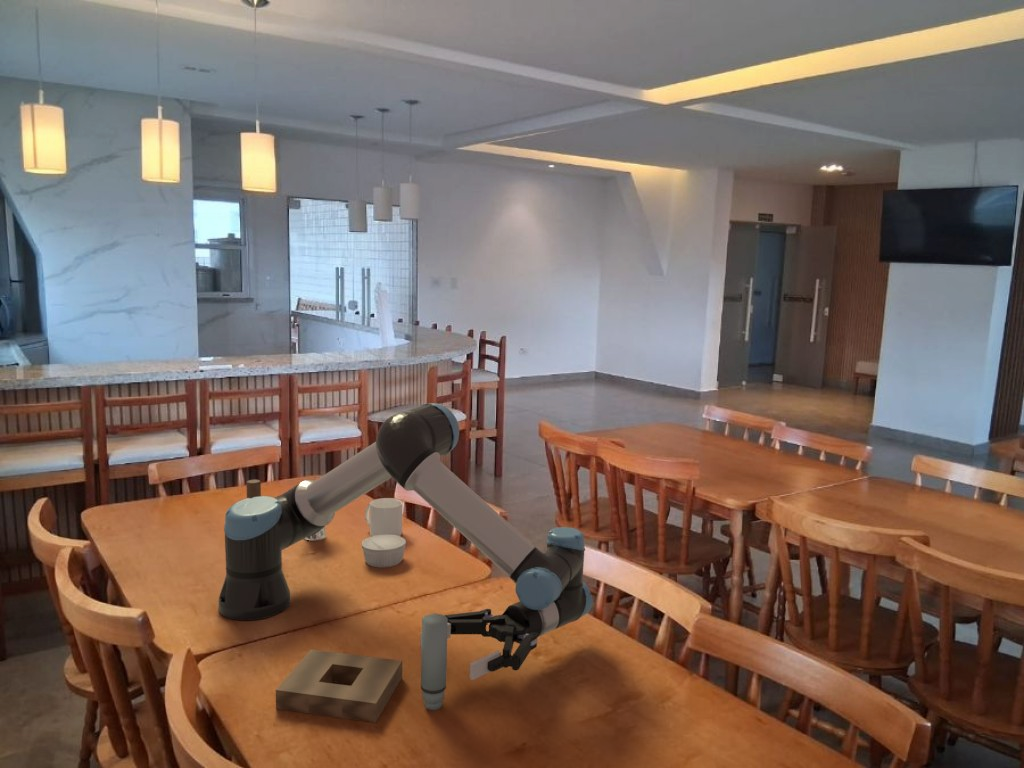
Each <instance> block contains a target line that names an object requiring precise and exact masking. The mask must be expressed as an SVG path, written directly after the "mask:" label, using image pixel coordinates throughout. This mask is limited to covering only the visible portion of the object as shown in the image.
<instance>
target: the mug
mask: <svg viewBox="0 0 1024 768" xmlns="http://www.w3.org/2000/svg"><path fill="white" fill-rule="evenodd" d="M364 515H365V517H364V520H365V522H366V523H367V526H368V527H369V535H370V537H371V536H376V535H397V536H400V535H401V534H403V501H402V500H401V499H398V498H392V497H383V498H382V497H380V498H376V499H373V500H371V501H370V502H369V504H367V506H366V509H365V513H364ZM401 536H402V535H401ZM401 536H400V537H401Z"/></svg>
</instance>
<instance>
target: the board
mask: <svg viewBox="0 0 1024 768" xmlns="http://www.w3.org/2000/svg"><path fill="white" fill-rule="evenodd" d="M402 679H403V660H399V659H392V658H383V657H376V656H367V655H359V654H358V655H357V654H351V653H345V652H344V653H342V652H335V651H326V650H320V649H310V650H309V651H308V652H307V653H306V655H305V656H304V657H303V658H302V659H301V660H300V662H299V663H298V664H297V665H296V666H295V667H294V668H293V670H291V672H290V673H289V674H288V675H287V676H286V677H285V679H284V680H283V681H282V682H281V683H280V684H279V686H278V687H277V688H275V709H276V710H283V711H291V712H297V713H306V714H312V715H318V716H326V717H333V718H338V719H339V718H340V719H341V718H342V719H347V720H353V721H360V722H361V721H362V722H368V723H369V722H370V723H375V724H376V723H377V721H378V720H379V718H380V716H381V715H382V713H383V712H384V709H385V708H386V706H387V704H388V703H389V701H390V699H391V698H392V696H393V694H394V693H395V690H396V689H397V687H398V686H399V684H400V683H401V681H402ZM399 682H400V683H399ZM338 683H339V684H338ZM346 684H348V685H346Z"/></svg>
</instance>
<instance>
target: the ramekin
mask: <svg viewBox="0 0 1024 768" xmlns="http://www.w3.org/2000/svg"><path fill="white" fill-rule="evenodd" d="M406 546H407V541H406V539H405V538H404V537H403V536H397V535H376V536H372V537H371V536H369V537H367V538H365V539H363V540H362V542H361V549H362V551H363V557H364V561H365V563H366V564H367V565H369V566H370V567H373V568H378V569H379V568H383V569H384V568H390V567H394V566H397V565H399V564H400V563H401V562H402V561H403V559H404V556H405V555H404V553H405V550H406V549H405V548H406Z"/></svg>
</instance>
